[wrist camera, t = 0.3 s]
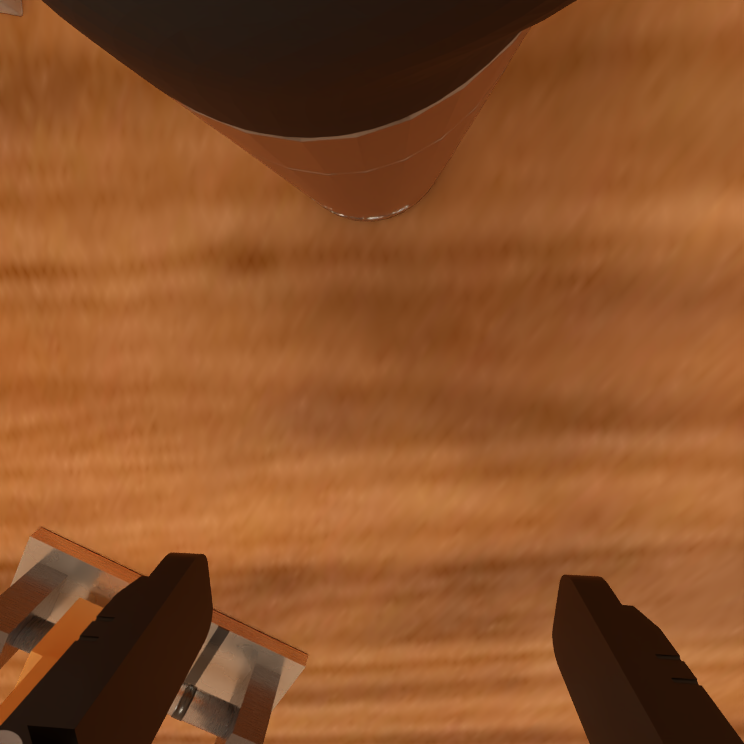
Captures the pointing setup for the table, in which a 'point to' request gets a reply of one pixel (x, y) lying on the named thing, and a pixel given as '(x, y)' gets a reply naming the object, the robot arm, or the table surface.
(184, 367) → the table surface
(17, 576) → the pipe stand
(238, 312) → the table surface
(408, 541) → the table surface
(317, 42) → the robot arm
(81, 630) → the orange wooden plank
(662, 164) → the table surface
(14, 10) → the small box
